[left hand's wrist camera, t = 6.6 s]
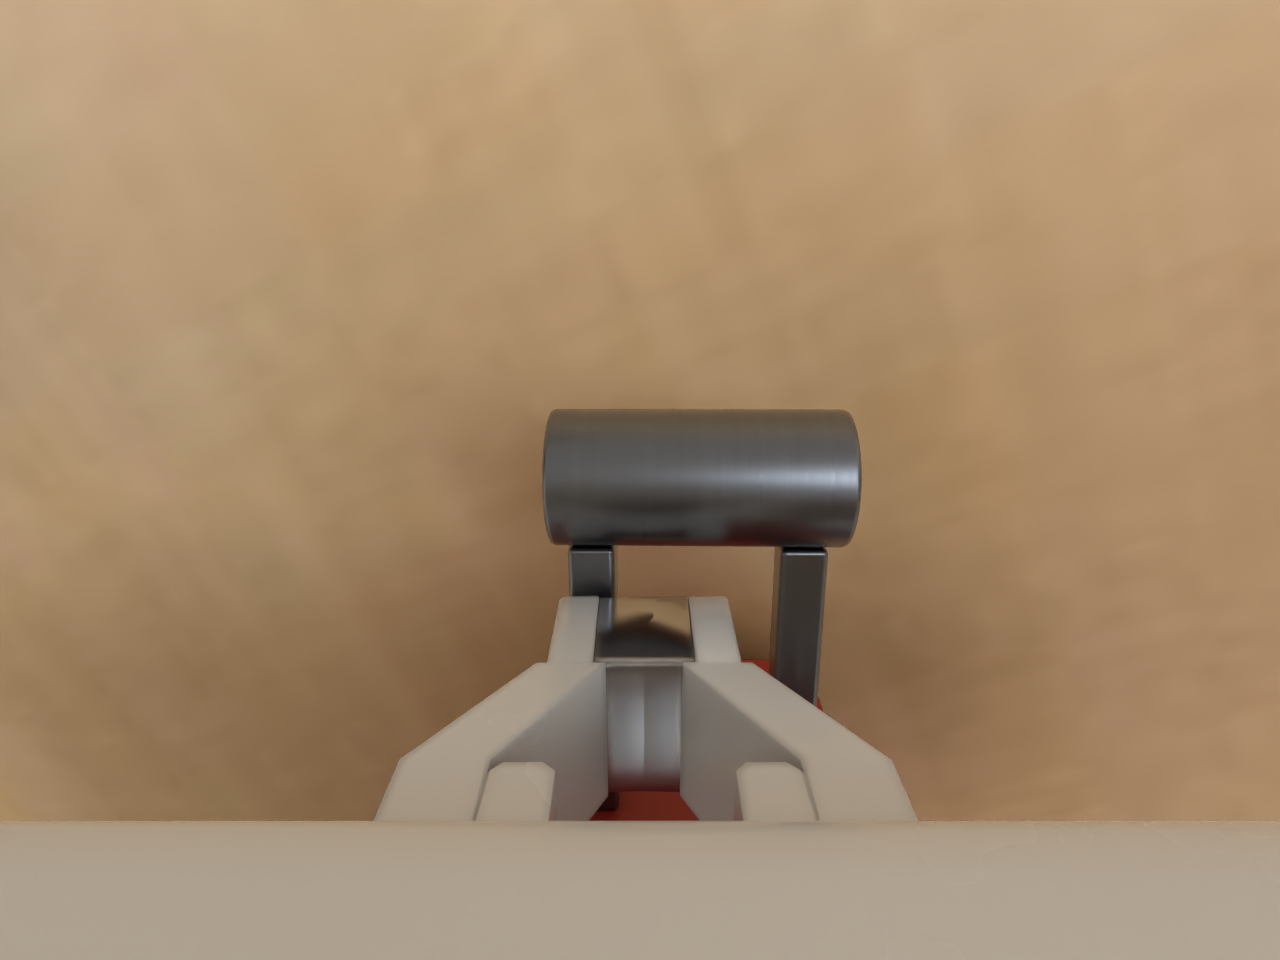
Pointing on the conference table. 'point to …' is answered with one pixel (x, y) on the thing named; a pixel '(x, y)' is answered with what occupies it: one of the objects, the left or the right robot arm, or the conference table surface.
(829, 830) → the left robot arm
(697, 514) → the drawer
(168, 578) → the conference table surface
